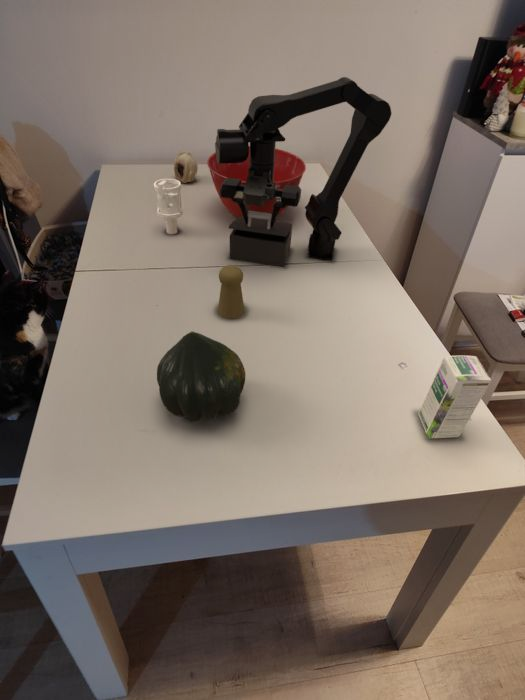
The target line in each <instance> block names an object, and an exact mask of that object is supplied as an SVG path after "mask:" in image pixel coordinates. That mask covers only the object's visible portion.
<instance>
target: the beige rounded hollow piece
mask: <svg viewBox="0 0 525 700" xmlns="http://www.w3.org/2000/svg"><path fill="white" fill-rule="evenodd" d="M198 167H199V166H198V163H197V160H196V159H195V157H194V156H193V155H192V153H191V152H188V151H186V150H183V151H180V152H179V153H177V156H176V157H175V159H174V160H173V174H174V177H175V180H178V181H180V183H183V184H187V183H190V182H193V181H194V180H195V178H196V175H197V173H198V169H199V168H198Z"/></svg>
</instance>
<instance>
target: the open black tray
mask: <svg viewBox="0 0 525 700" xmlns="http://www.w3.org/2000/svg"><path fill="white" fill-rule="evenodd" d="M292 232H293V227H292V228H291V229H290V231H289V233H288V234H287V236H286V237H285V236H278V235H271V234H264V233H257V232H250V231H243V230H236V229H232V230H231V232H230V234H229V259H230V260H235V261H242V262H247V263H254V264H261V265H268V266H273V267H281V268H284V267H285V266H286V263H287V259H288V257H289V253H290V251H291V245H292V244H291V243H292Z"/></svg>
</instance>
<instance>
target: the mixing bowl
mask: <svg viewBox="0 0 525 700" xmlns="http://www.w3.org/2000/svg"><path fill="white" fill-rule="evenodd" d="M249 157H250V145H249V155H248V158H247V159H246V161H244V162H243V163H224V164H218V163H217V159H216V151H214V152H213V153H212V154H211V155H209V157H208V158H207V161H206V165H207V168H208V169H209V173H210V176H211V180H212V183H213V185H214V188H215V191H216V192H217V195H218V197H219V199H220V201H221V203H222V204H223V206H224V208H225V210H227V212H229V213H230V214H231V215H232V216H234V217H235V218H238V217H239V216H243V214H242V211H241V209H240V207H239V205H238V204H237V203H236V202H233V201H232V199H231V198H224V197H221V196H220V186H221V185H222V183H223V182H224V181H225V180H226V179H227V178H234V179H241V181H242V185H245V184H246V180H247V177H248V172H249ZM306 170H307V166H306V162H305V161H304V160H303V159H302V158H300V157H299V156H298V155H295V154H294V153H291V152H289V151H286V150H283V149H281V148H275V161H274V179H273V184H275V189H284V187H285V185H291V186H299V187H300V184H301V181H302V179H303V175H304V173H305V172H306ZM275 201H276V198H275V197H274V200H269V201H266V202H265V205H264V206H257V205H251V204H250V205H249V211H256V212H263V213H271V214H272V213H273V205H274V203H275ZM287 208H288V206H286V208H281V209H280V211H279V213H278V215H277V217H279V216H280V215H281V214H282V213H284V211H285V210H286V209H287Z"/></svg>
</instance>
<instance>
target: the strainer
mask: <svg viewBox="0 0 525 700" xmlns="http://www.w3.org/2000/svg"><path fill="white" fill-rule="evenodd" d="M167 184H172V185H176V186H174V187H168V186H166V185H167ZM153 187H154V188H153V190H155V195H156V203H157V208H156V214H157V216H158V217H159V218H160V219H163V220H164V221H165V229H166V233H167V234H168V235H176V234H177V233H178V231H179V229H178V221H177V219H179V218H181V217H182V216H183V215H184V209H183V205H182V194H181V189H182V182H180V181H178V180H176V178H160V179H157V180H155V181H154V183H153Z"/></svg>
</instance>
